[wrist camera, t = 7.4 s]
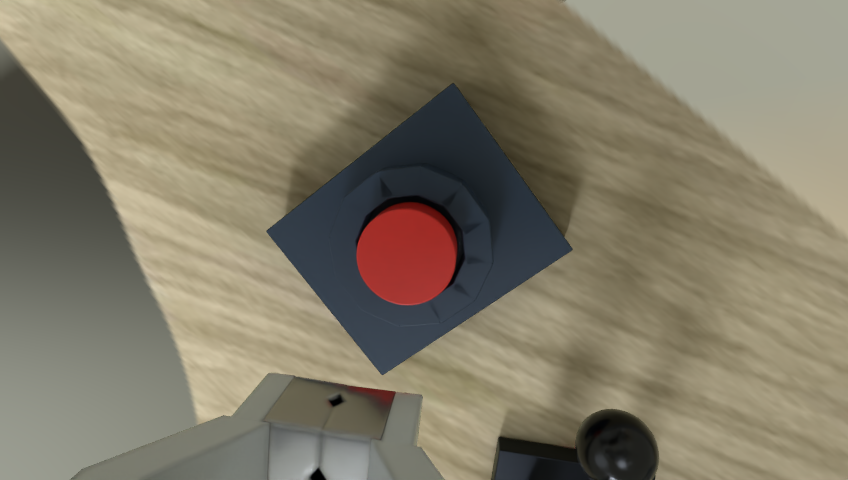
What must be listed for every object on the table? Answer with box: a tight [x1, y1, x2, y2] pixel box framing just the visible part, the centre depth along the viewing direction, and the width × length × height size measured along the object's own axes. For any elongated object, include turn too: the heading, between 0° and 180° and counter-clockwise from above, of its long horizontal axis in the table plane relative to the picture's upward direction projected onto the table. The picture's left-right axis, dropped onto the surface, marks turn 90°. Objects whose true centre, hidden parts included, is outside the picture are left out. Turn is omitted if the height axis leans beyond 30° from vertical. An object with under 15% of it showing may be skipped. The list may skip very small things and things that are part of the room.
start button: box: [356, 202, 458, 305], centre depth 20 cm, size 4×4×2 cm
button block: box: [266, 83, 573, 375], centre depth 23 cm, size 11×9×4 cm
